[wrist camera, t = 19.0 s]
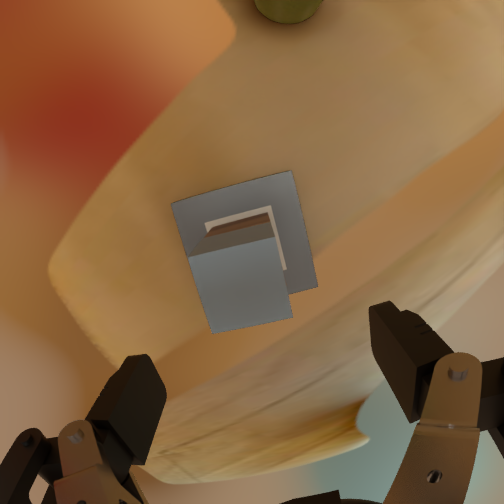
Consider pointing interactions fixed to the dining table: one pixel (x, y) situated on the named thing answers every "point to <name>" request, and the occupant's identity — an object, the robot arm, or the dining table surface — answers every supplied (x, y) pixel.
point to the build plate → (249, 204)
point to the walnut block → (240, 225)
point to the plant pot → (287, 9)
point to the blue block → (240, 278)
